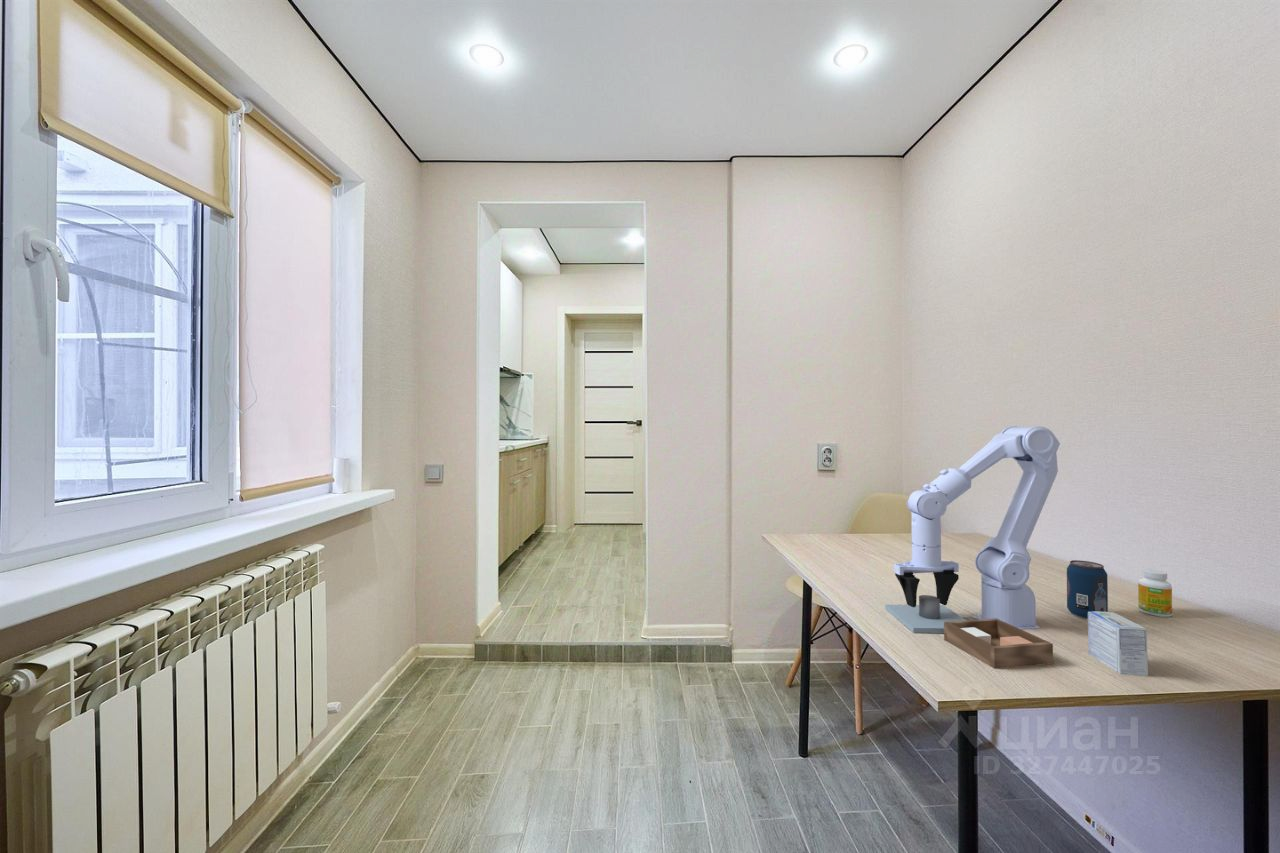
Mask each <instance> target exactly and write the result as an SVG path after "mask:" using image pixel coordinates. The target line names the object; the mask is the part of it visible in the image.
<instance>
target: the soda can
mask: <svg viewBox="0 0 1280 853" xmlns="http://www.w3.org/2000/svg"><path fill="white" fill-rule="evenodd" d="M1108 581H1109V580H1108V573H1107V571H1106V570H1105V566H1104V565H1103V564H1102V563H1097V562H1095V561H1093V562H1092V561H1088V560H1077V559H1075V560H1070V561H1069V564H1068V566H1066V607H1067V610H1068V611H1069V612H1070V614H1071V615H1073V617H1076V618H1080V619H1083V620H1087V621H1088V612H1092V611H1100V612H1109V600H1108V599H1109V597H1108V596H1109V594H1108V593H1109V592H1108V584H1109V583H1108Z"/></svg>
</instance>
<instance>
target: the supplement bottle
mask: <svg viewBox="0 0 1280 853" xmlns="http://www.w3.org/2000/svg"><path fill="white" fill-rule="evenodd" d="M1141 575H1142V576H1143V577H1141V578H1139V579H1138V583H1137V584H1138V586H1137V587H1138V590H1137V591H1138V594H1137V595H1138V597H1137V598H1138V600H1137V601H1138V602H1137V603H1138V610H1139V611H1140V612H1142V613H1143V614H1144V613H1145V614H1146V615H1147V614H1148V615H1150V616H1154V617H1161V618H1162V617H1163V618H1168V617H1172V615H1173V586H1172V584H1171V583H1170V582H1169V581H1167V580H1168V572H1166V571H1163V570H1159V569H1152V568H1143V569H1142V572H1141Z"/></svg>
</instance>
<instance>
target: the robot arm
mask: <svg viewBox="0 0 1280 853" xmlns="http://www.w3.org/2000/svg"><path fill="white" fill-rule="evenodd" d="M1060 445H1061V443H1060V441H1059V440H1058V439H1057V437H1056V435H1055V434H1054V433H1053V431H1052V430H1051V429H1049V428H1047V427H1045V426H1040V425H1039V426H1015V425H1014V426H1009V427H1008V426H1007V427H1006V428H1004V429H1003V430H1001V432H1000V433H997V434H995V435H993V437H992V439H991V440H990V441H989V442H988V443H986V444H985V445H984V446H983V447H981V449H980V450H978V451H977V452H976V453H975V454H974V455H973V456H972V457H970V458H969V459H967V461H966V462H965V463H963V464H962V465H961V466H960V467H958V468H954V467H951V468H950V467H949V468H948V469H945V468H944V469H942V470H941V471H939V474H940V475H939V476H938V477H936V478H935V479H933V480H932V481H931V482H929V483H928V484H927V483H925V484H924V485H923V486H922V488H923V489H920V490H919V489H918V490H915V491H913V492H912V493H911V494H910V495H909V496H908V497H909V498H908V500H906V502H905V503H906V507H907V509H908V510H909V511H910V513H911V528H910V529H911V559H910V561H906V562H901V563H894V564H893V572H894V576H895V577H896V579H897V580H898V583H899V584H900V586H901V588H902V592H903V595H904V598H905V603H906V605H909V606H911V607H916V605H917V602H918V601H917V593H918V587H919V583H920V581H921V579H920V578H918V577H916V575H915V574H924V573H925V574H926V573H929V574H931V573H932V574H933V576H934V581H935V589H936V590H935V591H936V597H937V598H939V599H940V605H944V606H947V604H948V601H949V597H950V595H951V592H952V589H953V588H954V586H955V585H956V583H957V582H958V581H959V579H960V578H959V576H960V575H959V574H958V573H959V572H960V571H959V570H960V569H959V568H960V567H959V566H960V564H959V563H958V562H955V561H953V560H950V561H949V560H942V527H941V522H942V520H941V516H944V515H945V513H946V511H947V507H948V506H949V505H950V504H951V503H952V502H954V501H955V500H956V499H958V498H959V497H960V496H961V495H963V494H964V493H965V492H967V491H968V490H970V489H971V488H972V480H973V479H975V478H976V477H978V476H979V475H981V474H982V473H983V472H985V471H986V470H988V469H989V468H991V467H993V466H994V465H995V464H997V463H998V462H1000V461H1001V460H1003V459H1008V458H1009V459H1010V458H1012V459H1013V460H1014V461H1016V462H1017V464H1018V466H1019V467H1020V469H1021V470H1022V471H1023V472H1022V475H1021V478H1020V480H1019V482H1018V485H1017V486H1016V488H1015V489H1016V490H1015V492H1014V495H1013V496H1012V499H1011V500H1010V504H1009V506H1008V508H1007V510H1006V513H1005V515H1004V517H1003V520H1002V523H1001V524H1000V527H999V529H998V532H997V535H996V536H995V537H993V538H991V539H989V540H987V541H986V544H985V546H984V547H983V548H982V549H981V550H980V551H978V553H977V554H976V556H975V559H974V564H975V568H976V569H977V570H978V572H979V573H980V578H981V579H980V580H981V585H980V586H981V614H974V615H971V618H972V619H974V620H980V619H995V618H997V619H999V620H1001V621H1003V622H1006V623H1008V624H1010V625H1012V626H1015V627H1017V628H1019V629H1021V630H1029V629H1030V630H1033V629H1035V630H1036V629H1040V626H1039V625H1037V624H1036V623H1037V622H1036V620H1037V619H1036V618H1037V617H1036V614H1037V613H1036V609H1037V608H1036V607H1037V603H1036V595H1035V594H1034V591H1033V590H1032V588H1031V587H1030V586H1028V585H1027V584H1026V583H1028V582H1029V579H1030V574H1031V573H1030V564H1031V561H1032V557H1031V555H1030V553H1029V551H1028V549H1027V546H1028V543H1029V542H1030V539H1031V536H1032V535H1033V531H1034V530H1035V527H1036V525H1037V522H1038V520H1039V517H1040V515H1041V513H1042V510H1043V509H1044V506H1045V503H1046V502H1047V498H1048V497H1049V494H1050V491H1051V489H1052V487H1053V484H1054V482H1055V480H1056V477H1057V475H1058V472H1059V468H1058V456H1057V452H1058V450H1059V447H1060Z"/></svg>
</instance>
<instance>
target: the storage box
mask: <svg viewBox="0 0 1280 853" xmlns="http://www.w3.org/2000/svg"><path fill="white" fill-rule="evenodd" d="M970 627H975V628H977V629H979V630H981V631H983V632H985V633H987V634H989V635H991V644H989V643H987V642H985V641H984V640H982V639H980V638H978V637H976V636H974V635H972V634H970V633H968V632H966V631H964V630H962V629H960V628H970ZM1012 636H1020V637H1022V638H1024V639H1026V640H1028V641H1030V642H1032V643H1028V644H1015V645H1003V646H1000V637H1012ZM943 640H944V641H945V642H947V643H948V644H951V645H952V646H954V647H955V648H957V649H959V650H961V651H963V652H965V653H966V654H968V655H970V656H971V657H973V658H974V659H977V660H979V661H981V662H982V663H983V664H985V665H987V666H989V667H990V668H992V669H994V670H995V669H1006V668H1019V667H1029V666H1030V667H1031V666H1041V665H1053V664H1054V650H1053V649H1054V644H1053V643H1052V642H1051V641H1048V640H1045V639H1043V638H1041V637H1039V636H1037V635H1035V634H1032V633H1030V632H1028V631H1025V630H1024V629H1022V630H1021V629H1019V628H1017V627H1015V626H1012V625H1010V624H1008V623H1006V622H1003V621H1001V620H999V619H997V618H995V619H980V620H977V619H969V620H967V619H966V621H952V622H944V633H943Z"/></svg>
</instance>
